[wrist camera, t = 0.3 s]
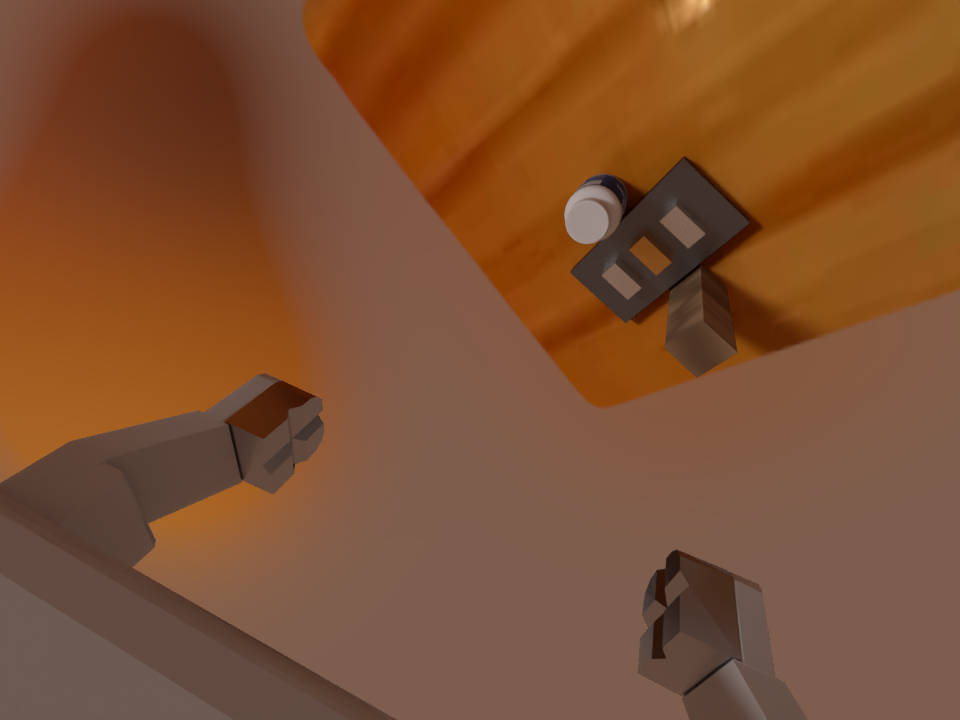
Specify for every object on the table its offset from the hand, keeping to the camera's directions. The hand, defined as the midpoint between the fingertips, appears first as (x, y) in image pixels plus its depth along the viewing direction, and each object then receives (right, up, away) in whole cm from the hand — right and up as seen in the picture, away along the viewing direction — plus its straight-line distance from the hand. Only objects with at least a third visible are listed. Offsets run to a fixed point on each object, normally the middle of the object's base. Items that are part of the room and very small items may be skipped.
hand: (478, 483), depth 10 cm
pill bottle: (+13, +20, +39) cm, 46 cm away
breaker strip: (+19, +15, +39) cm, 46 cm away
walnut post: (+24, +11, +40) cm, 48 cm away
